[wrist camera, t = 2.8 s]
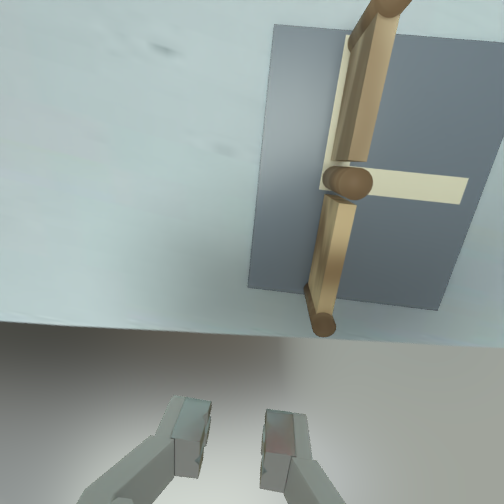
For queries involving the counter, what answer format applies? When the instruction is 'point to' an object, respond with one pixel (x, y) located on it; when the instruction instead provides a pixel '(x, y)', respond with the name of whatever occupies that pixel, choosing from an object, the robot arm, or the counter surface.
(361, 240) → the card
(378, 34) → the fence fixed panel
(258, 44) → the counter surface
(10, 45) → the counter surface
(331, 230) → the fence hinged panel
